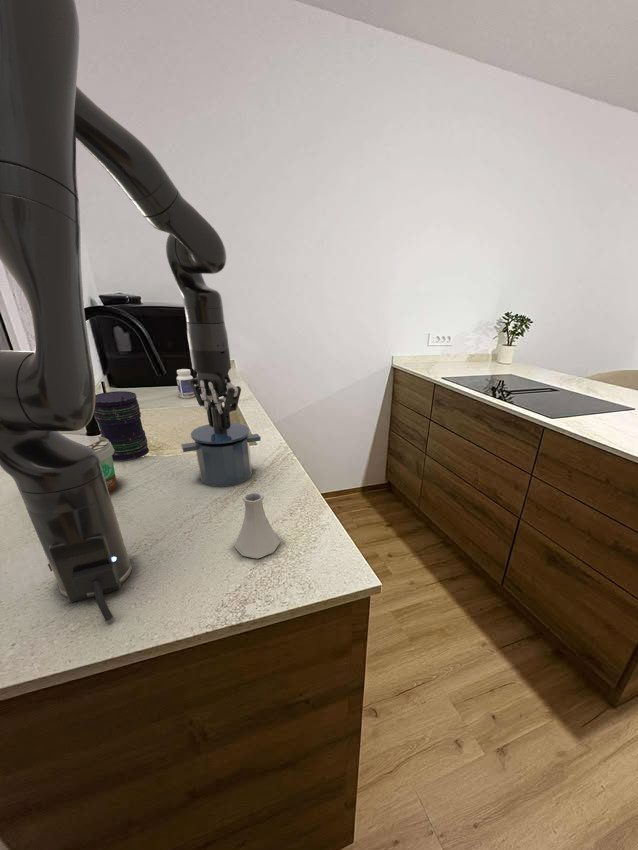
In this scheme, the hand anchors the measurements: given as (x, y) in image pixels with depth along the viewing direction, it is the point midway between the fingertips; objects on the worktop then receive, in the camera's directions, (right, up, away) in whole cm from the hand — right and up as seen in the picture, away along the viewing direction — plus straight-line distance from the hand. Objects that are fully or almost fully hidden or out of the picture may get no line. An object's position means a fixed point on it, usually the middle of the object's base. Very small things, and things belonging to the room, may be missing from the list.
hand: (220, 427), depth 86 cm
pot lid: (0, -1, +1) cm, 2 cm away
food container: (-24, -14, -3) cm, 28 cm away
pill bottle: (-35, +20, +63) cm, 75 cm away
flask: (+13, -23, -18) cm, 32 cm away
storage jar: (-29, -5, +14) cm, 33 cm away
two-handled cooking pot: (0, -11, +5) cm, 12 cm away
